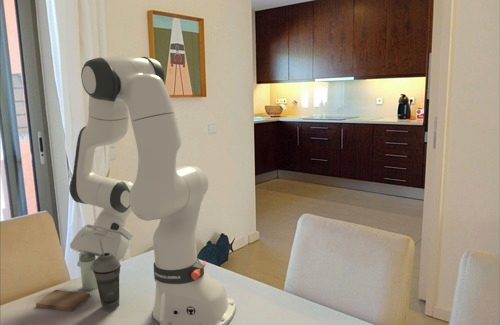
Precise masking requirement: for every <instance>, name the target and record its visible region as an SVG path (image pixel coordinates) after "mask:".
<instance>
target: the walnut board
mask: <svg viewBox="0 0 500 325" xmlns="http://www.w3.org/2000/svg"><path fill="white" fill-rule="evenodd" d="M91 297H92V295H91V293H87V292H78V291H70V290H60V289H59V290H58V289H55V290H53V291H52V292H51V293H49V294H47V295H46V296H45V297H43V298H42V299H41V300H39V301H37V302H35V306H36V307H37V308H43V309H44V308H45V309H52V310H60V311H68V312H74V311H75V310H76V309H77V308H79V307H80V306H82V304H84V303H85V302H87V300H89V299H90V298H91ZM36 307H35V308H36Z"/></svg>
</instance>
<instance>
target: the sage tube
mask: <svg viewBox="0 0 500 325" xmlns="http://www.w3.org/2000/svg"><path fill="white" fill-rule="evenodd" d="M96 259H97V256H95V254H92V253H90V254H84V255H82V256H80V257H78V262H79V261H80V267H79V268H80V276H81V283H82V285H81V286H82V290H84V291H92V290H95V289H98V286H97V281H96V278H95V275H94V272H93V270H92V269H91V266H92V264H93V263H94V262H95V260H96Z"/></svg>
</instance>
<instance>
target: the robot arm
mask: <svg viewBox="0 0 500 325" xmlns="http://www.w3.org/2000/svg"><path fill="white" fill-rule="evenodd" d="M80 78H81V83H82V88H83V89H84V91H85V92H86V94H87V95H89V97H88V119H87V123H86V125H85V126H83V127H82V128H81V129H80V131H79V133H78V136H77V141H76V147H75V156H74V163H73V171H72V176H71V180H70V182H69V188H68V189H69V190H68V191H69V194H70V196H71V198H72V200H73V201H74V202H76V203H79V204H85V205H89V206H94V207H98V208H102V210H101V211H100V212H99V214H98V216H97V218H96V219H95V221H94V223H93V225H92V224H86V225H85V226H83V227H81V228H80V229H79V230H78V232H77V233H76V234H75V236H74V238H73V239H72V240H71V242H70V243H69V244H70V245H69V246H70V249H71V250H73V251H75V252H76V253H79V254H78V255H79V257H80V256H82V255H84V254H90V253H92V254H95V257H99V256H100V255H101V254H102V250H101V246H100V241H99V239H100V238H101V241H102V245H103V250H104V253H111V254H113V255H115V256H116V257H117V258H118V260H119V261H121V260H122V259H123V258H125V255H126V253H127V251H128V248H129V246H130V241H131V240H132V239H133V236H134V235H133V233H132V232H131V231H130V230H128V229H127V228H126V227H125V226H126V222H127V219H128V218H129V216H130V215H131V214H132V213H133V214H134V215H135V217H137V218H138V219H140V220H142V221H145V222H146V221H147V222H149V221H157V220H159V224H158V226H157V227H156V228H155V231H154V233H153V237H152V241H153V253H154V254H153V255H154V256H153V257H154V262H153V278H154V281H155V298H154V304H153V310H152V316H153V319H155V320H156V321H157V322H158V323H159V325H228V323H229V322H231V320H232V319H233V317H234V315H235V313H236V311H237V305H236V301H235V299H233V298H229V297H228V296H227V290H226V288H225V286H224V285H223V284H222V283H221V282H219V281H218V280H217V279H215V278H213V277H212V276H211V275H209V274H208V273H207V272H205V267H206V266H207V265H206V264H207V262H206V260H204V261H202V262H203V263H202V262H201V261H200V259H199V258H198V256H197V255H198V254H197V252H198V251H197V228H198V227H197V226H198V221H199V220H198V219H199V215H200V214H199V213H200V212H201V211H200V209H201V206H202V202H203V199H204V197H205V194H206V193H207V191H208V189H209V179H208V177H207V174H206V173H205V172H204V170H202V169H201V168H200V167H199V166H195V165H180V166H177V156H178V152H179V149H180V148H181V146H182V138H181V134H180V130H179V125H178V122H177V119H176V112H175V109H174V106H173V103H172V99H171V96H170V94H169V91H168V89H167V86H166V85H165V84H166V83H165V79H166V78H165V72H164V69H163V66H162V64H161V63H160V62H159V61H158V60H156V59H155V58H152V57H147V56H141V57H140V56H139V57H138V56H137V57H136V56H125V55H121V56H120V55H118V56H108V57H96V58H92V59H89V60H87V61H85V63H84V65H83V67H82V69H81V73H80ZM129 118H130V119H129ZM130 122H131V126H132V131H133V135H134V138H135V143H136V148H137V156H138V158H137V172H136V177H135V179H134V180H135V181H134V183H133V182H132V181H129V180H126V179H125V180H120V179H117V178H112V177H108V176H107V177H106V176H104V175H103V176H102V175H99V174H97V173H95V171H94V170H93V166H94V158H95V152H96V148H98V147H104V146H108V145H112V144H115V143H117V142H119V141H120V140H122V139H123V138H125V136H126V134H127V133H128V130H129V124H130ZM79 257H78V258H79ZM76 266H78V267H79V268H80V261H79V260H78V262H77V265H76ZM93 266H94V263H93V264H92V266H91V269H92V270H93Z"/></svg>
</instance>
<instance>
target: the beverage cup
mask: <svg viewBox="0 0 500 325" xmlns="http://www.w3.org/2000/svg"><path fill="white" fill-rule="evenodd" d="M99 241H100V246H101V250H102V254H101V255H100V256H97V257H96V258H95V259H96V260H95V262H94V266H93V272H94V275H95V278H96V281H97V286H98V287H97V290H98V295H99V296H98V297H99V301H100V304H101V309H102V310H104V311H107V312H109V311H113V310H115V309H116V310H117V308H119V306H120V273H121V266H122V265H121V264H120V263H121V262H120V260H118V258H117V257H116V256H115V255H113V254H111V253H104V250H103V245H102V241H101V238H100V239H99Z"/></svg>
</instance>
